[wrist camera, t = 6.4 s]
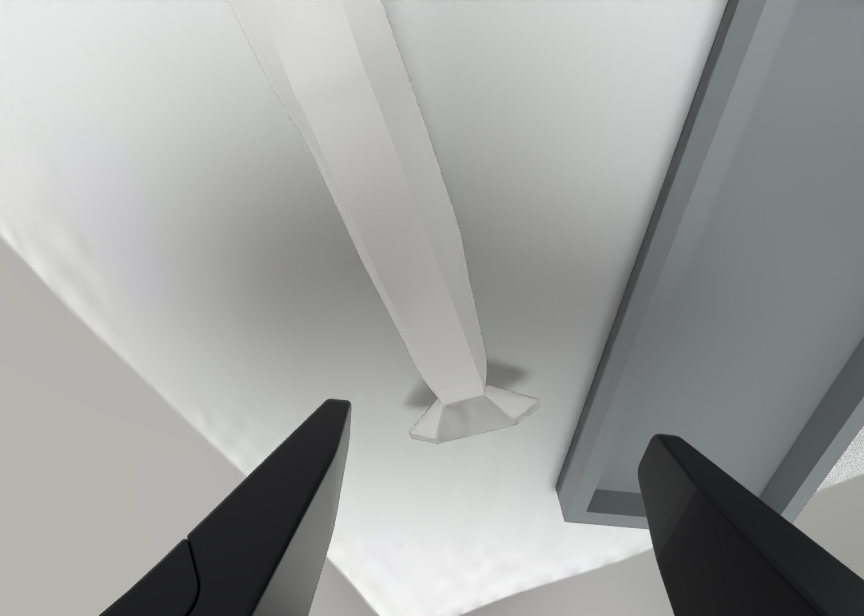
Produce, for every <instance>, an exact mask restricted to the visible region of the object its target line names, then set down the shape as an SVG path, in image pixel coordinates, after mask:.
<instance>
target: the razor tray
mask: <svg viewBox="0 0 864 616" xmlns="http://www.w3.org/2000/svg"><path fill="white" fill-rule="evenodd" d="M863 425H864V0H729V2H728V4H727V7H726V10H725V13H724V16H723V19H722V21H721V24H720V27H719V30H718V33H717V35H716V38H715V41H714V44H713V47H712V49H711V52H710V55H709V58H708V61H707V63H706V66H705V69H704V72H703V75H702V78H701V80H700V83H699V86H698V89H697V92H696V94H695V97H694V100H693V103H692V106H691V108H690V111H689V114H688V117H687V120H686V122H685V125H684V128H683V131H682V134H681V137H680V139H679V142H678V145H677V148H676V151H675V153H674V156H673V159H672V162H671V165H670V167H669V170H668V173H667V176H666V179H665V181H664V184H663V187H662V190H661V193H660V196H659V198H658V201H657V204H656V207H655V210H654V212H653V215H652V218H651V221H650V224H649V226H648V229H647V232H646V235H645V238H644V240H643V243H642V246H641V249H640V252H639V255H638V257H637V260H636V263H635V266H634V269H633V271H632V274H631V277H630V280H629V283H628V285H627V288H626V291H625V294H624V297H623V299H622V302H621V305H620V308H619V311H618V314H617V316H616V319H615V322H614V325H613V328H612V330H611V333H610V336H609V339H608V342H607V344H606V347H605V350H604V353H603V356H602V358H601V361H600V364H599V367H598V370H597V373H596V375H595V378H594V381H593V384H592V387H591V389H590V392H589V395H588V398H587V401H586V403H585V406H584V409H583V412H582V415H581V417H580V420H579V423H578V426H577V429H576V432H575V434H574V437H573V440H572V443H571V446H570V448H569V451H568V454H567V457H566V460H565V462H564V465H563V468H562V471H561V474H560V477H559V479H558V482H557V485H556V491H557V495H558V499H559V502H560V506H561V510H562V514H563V517H564V521H565V522H572V523H584V524H595V525H606V526H618V527H629V528H641V529H649V527H648V522H647V518H646V513H645V509H644V504H643V500H642V495H641V491H640V486H639V482H638V474H637V473H638V466H639V463H640V461H641V459H642V456H643V454H644V452H645V450H646V448H647V446H648V444H649V441H650V439H651V438H652V436H654V435H655V434H659V433H660V434H669V435H676V436H679V437H681V438H682V439H684V440H685V441H686V442H687V443H689V444H690V445H691V446H693V447H694V448H695V449H696V450H698V451H699V452H700V453H702V454H703V455H704V456H705V457H707V458H708V459H709V460H711V461H712V462H713V463H714V464H716V465H717V466H718V467H719V468H721V469H722V470H723V471H725V472H726V473H727V474H728V475H730V476H731V477H732V478H734V479H735V480H736V481H737V482H739V483H740V484H741V485H743V486H744V487H745V488H746V489H748V490H749V491H750V492H752V493H753V494H754V495H755V496H757V497H758V498H759V499H761V500H762V501H763V502H764V503H766V504H767V505H768V506H770V507H771V508H772V509H773V510H775V511H776V512H777V513H778V514H780V515H781V516H782V517H784V518H785V519H786V520H787V521H789V522H790V523H791V524H792V523H793V521H794V520H795V519H796V517H797V516H798V515H799V513H800V512H801V510H802V509H803V507H804V506H805V505H806V504H807V502H808V501H809V499H810V498H811V497H812V495H813V494H814V493H815V491H816V490H817V488H818V487H819V486H820V484H821V483H822V482H823V480H824V479H825V477H826V476H827V475H828V473H829V472H830V471H831V469H832V468H833V466H834V465H835V464H836V462H837V461H838V460H839V458H840V457H841V455H842V454H843V453H844V451H845V450H846V449H847V447H848V446H849V444H850V443H851V442H852V440H853V439H854V438H855V436H856V435H857V433H858V432H859V431H860V429H861V428H862V427H863Z"/></svg>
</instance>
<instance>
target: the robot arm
mask: <svg viewBox="0 0 864 616" xmlns="http://www.w3.org/2000/svg"><path fill="white" fill-rule="evenodd" d="M350 422H351V403H350V401H348V400H339V399H328V400H326V401H325V402H324V403H323V404H322V405H321V406H320V407H319V408H318V409H317V410H316V411H315V412H314V413H312V414H311V415H310V416H309V417H308V418H307V419H306V420H305V421H304V422H303V423H302V424H301V425H300V426H299V427H298V428H297V429H296V430H295V431H294V432H293V433H292V434H291V435H290V436H289V437H288V438H287V439H286V440H285V441H284V442H283V443H282V444H281V445H280V446H279V447H278V448H277V449H275V450H274V451H273V452H272V453H271V454H270V455H269V456H268V457H267V458H266V459H265V460H264V461H263V462H262V463H261V464H260V465H259V466H258V467H257V468H256V469H255V470H254V471H253V472H252V473H251V474H250V475H249V476H248V477H247V478H246V479H245V480H244V481H243V482H242V483H241V484H240V485H238V487H236V488H235V489H234V490H233V491H232V492H231V493H230V494H229V495H228V496H227V497H226V498H225V499H224V500H223V501H222V502H221V503H220V504H219V505H218V506H217V507H216V508H215V509H214V510H213V511H212V512H211V513H210V514H209V515H208V516H207V517H206V518H205V519H204V520H203V521H201V522H200V523H199V524H198V526H196V527H195V528H194V529H193V530H192V531H191V532H190V533H189V534H188V536H187V539H188V540H187V539H183V540H181V542H180V543H179V544H177V546H175V547H174V548H173V549H172V550H171V551H170V552H169V553H168V554H167V555H166V556H165V557H164V558H163V559H162V560H161V561H160V562H159V563H158V564H157V565H156V566H155V567H153V568H152V569H151V570H150V571H149V572H148V573H147V574H146V575H145V576H144V577H143V578H142V579H140V580H139V581H138V582H137V583H136V584H135V585H134V586H133V587H132V588H131V589H130V590H129V591H127V592H126V593H125V594H124V595H123V596H121V598H119V599H118V600H117V601H116V602H114V603H113V604H112V605H111V606H110V607H108V608H107V609H106V610H105V611H104V612H103V613H101V614H100V615H99V616H308V614H309V611H310V608H311V604H312V601H313V598H314V594H315V591H316V588H317V584H318V581H319V578H320V574H321V571H322V568H323V564H324V561H325V558H326V554H327V551H328V548H329V544H330V541H331V537H332V533H333V530H334V525H335V520H336V515H337V509H338V504H339V498H340V492H341V486H342V481H343V475H344V469H345V463H346V458H347V452H348V446H349V437H350ZM637 474H638V482H639V486H640V491H641V495H642V500H643V504H644V509H645V513H646V518H647V522H648V527H649V531H650V535H651V540H652V544H653V549H654V552H655V557H656V560H657V563H658V567H659V570H660V573H661V576H662V579H663V582H664V585H665V588H666V591H667V594H668V597H669V600H670V603H671V606H672V609H673V612H674V615H675V616H864V580H863V579H862V578H860V577H859V576H858V575H857V574H855V573H854V572H853V571H851V570H850V569H849V568H848V567H846V566H845V565H844V564H842V563H841V562H840V561H839V560H837V559H836V558H835V557H834V556H832V555H831V554H830V553H829V552H827V551H826V550H825V549H823V548H822V547H821V546H819V545H818V544H817V543H816V542H814V541H813V540H812V539H810V538H809V537H808V536H807V535H805V534H804V533H803V532H801V531H800V530H799V529H798V528H796V527H795V526H794V525H793V524H791V523H790V522H789V521H787V520H786V519H785V518H784V517H782V516H781V515H780V514H778V513H777V512H776V511H775V510H773V509H772V508H771V507H770V506H768V505H767V504H766V503H764V502H763V501H762V500H761V499H759V498H758V497H757V496H755V495H754V494H753V493H752V492H750V491H749V490H748V489H746V488H745V487H744V486H743V485H741V484H740V483H739V482H737V481H736V480H735V479H734V478H732V477H731V476H730V475H728V474H727V473H726V472H725V471H723V470H722V469H721V468H719V467H718V466H717V465H716V464H714V463H713V462H712V461H711V460H709V459H708V458H707V457H705V456H704V455H703V454H702V453H700V452H699V451H698V450H696V449H695V448H694V447H693V446H691V445H690V444H689V443H687V442H686V441H685V440H684V439H682V438H681V437H679V436H676V435H669V434H660V433H659V434H655V435H654V436H652V438H651V439H650V441H649V444H648V446H647V448H646V450H645V452H644V454H643V456H642V459H641V461H640V463H639V466H638V473H637Z"/></svg>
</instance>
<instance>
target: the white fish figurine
mask: <svg viewBox="0 0 864 616" xmlns="http://www.w3.org/2000/svg"><path fill="white" fill-rule="evenodd" d="M227 1H228V3H229V5H230V7H231V9H232V11H233V13H234V15H235V17H236V19H237V21H238V23H239V25H240V27H241V29H242V31H243V32H244V34H245V36H246V38H247V40H248V42H249V44H250V46H251V48H252V50H253V52H254V54H255V56H256V58H257V60H258V62H259V64H260V66H261V68H262V70H263V72H264V74H265V75H266V77H267V79H268V81H269V83H270V85H271V87H272V88H273V90H274V92H275V93H276V95H277V97H278V99H279V100H280V102H281V103H282V105H283V106H284V108H285V109H286V111H287V112H288V115H289V118H290V120H291V122H292V123H293V124H294V125H295V126H296V127H297V129H298V131H299V132H300V134H301V136H302V137H303V139H304V141H305V143H306V144H307V146H308V148H309V149H310V151H311V153H312V155H313V157H314V159H315V162H316V164H317V166H318V168H319V170H320V172H321V174H322V176H323V179H324V181H325V183H326V185H327V187H328V189H329V191H330V194H331V196H332V198H333V200H334V202H335V204H336V206H337V209H338V211H339V213H340V215H341V217H342V219H343V221H344V224H345V226H346V228H347V230H348V232H349V234H350V237H351V239H352V241H353V243H354V245H355V247H356V250H357V252H358V254H359V256H360V258H361V260H362V263H363V265H364V267H365V268H366V270H367V272H368V274H369V276H370V278H371V280H372V282H373V284H374V285H375V287H376V289H377V291H378V293H379V295H380V297H381V299H382V300H383V302H384V304H385V306H386V308H387V310H388V312H389V314H390V316H391V318H392V320H393V322H394V324H395V326H396V328H397V330H398V332H399V334H400V336H401V338H402V340H403V342H404V344H405V346H406V348H407V350H408V352H409V354H410V356H411V358H412V360H413V362H414V364H415V366H416V368H417V370H418V371H419V373H420V375H421V377H422V378H423V379H424V381H425V382H426V383H427V385H428V386H429V387H430V389H431V390H432V391H433V392H434V393H435V395H436V396H437V397H438V398H437V400H436V401H435V402H434V403H433V404H432V405H431V407H430V408H429V409H428V410H427V411H426V413H425V414H424V415H423V416H422V417H421V418H420V420H419V421H418V422H417V423H416V424H415V425H414V427H413V428H412V429H411V430H410V431H409V433H410V436H411V438H413V439H417V440H422V441H427V442H431V443H436V444H439V443H443V442H447V441H451V440H455V439H459V438H463V437H467V436H472V435H476V434H480V433H484V432H488V431H492V430H496V429H500V428H504V427H508V426H512V425H516V424H517V423H519V422H520V421H521V420H523V419H524V418H525V417H527V416H528V415H529V414H531V413H532V412H533V411H535V410H536V409H537V408H539V407H540V403H539V400H538V399H537V398H533V397H530V396H526V395H523V394H519V393H516V392H513V391H509V390H506V389H502V388H499V387H495V386H492V385H488V384H486V376H487V360H486V353H485V348H484V344H483V339H482V334H481V330H480V325H479V321H478V316H477V312H476V307H475V302H474V298H473V293H472V289H471V284H470V280H469V274H468V269H467V264H466V259H465V253H464V248H463V243H462V238H461V232H460V229H459V226H458V223H457V219H456V216H455V213H454V210H453V207H452V204H451V201H450V198H449V195H448V192H447V189H446V186H445V183H444V180H443V177H442V174H441V171H440V168H439V164H438V161H437V158H436V155H435V152H434V149H433V146H432V143H431V140H430V137H429V134H428V131H427V128H426V125H425V122H424V119H423V116H422V114H421V111H420V108H419V105H418V102H417V99H416V97H415V94H414V91H413V88H412V85H411V82H410V79H409V76H408V73H407V71H406V68H405V66H404V63H403V61H402V58H401V56H400V53H399V50H398V47H397V44H396V41H395V38H394V35H393V32H392V29H391V26H390V23H389V20H388V17H387V14H386V11H385V9H384V6H383V3H382V0H227Z"/></svg>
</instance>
